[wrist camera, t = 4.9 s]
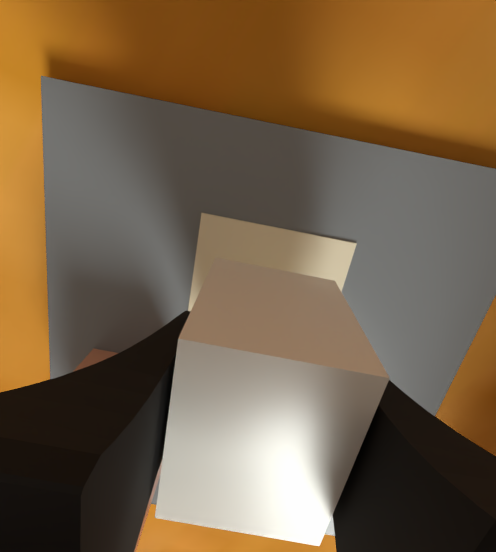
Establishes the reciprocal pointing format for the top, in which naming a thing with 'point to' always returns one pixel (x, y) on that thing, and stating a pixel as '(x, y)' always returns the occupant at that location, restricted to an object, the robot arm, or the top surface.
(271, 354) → the white brick
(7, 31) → the top surface
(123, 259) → the baseplate
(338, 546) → the robot arm
